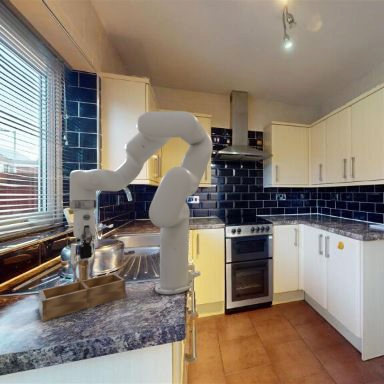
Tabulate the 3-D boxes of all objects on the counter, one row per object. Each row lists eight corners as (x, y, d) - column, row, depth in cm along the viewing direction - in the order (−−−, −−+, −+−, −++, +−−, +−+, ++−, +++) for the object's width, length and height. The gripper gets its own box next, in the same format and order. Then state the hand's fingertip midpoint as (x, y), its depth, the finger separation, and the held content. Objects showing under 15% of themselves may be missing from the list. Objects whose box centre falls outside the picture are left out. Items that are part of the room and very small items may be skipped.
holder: (115, 288, 80) (115, 273, 81) (125, 296, 74) (125, 279, 74) (38, 309, 66) (38, 290, 66) (42, 321, 59) (42, 300, 59)
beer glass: (81, 290, 76) (81, 244, 76) (64, 288, 77) (64, 244, 78) (100, 282, 83) (100, 240, 83) (84, 281, 84) (84, 240, 84)
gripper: (102, 205, 78) (102, 258, 77) (90, 204, 89) (90, 250, 89) (74, 206, 72) (74, 263, 72) (65, 205, 84) (65, 254, 83)
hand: (83, 255), depth 80 cm, fingers closed on beer glass, 7 cm apart
